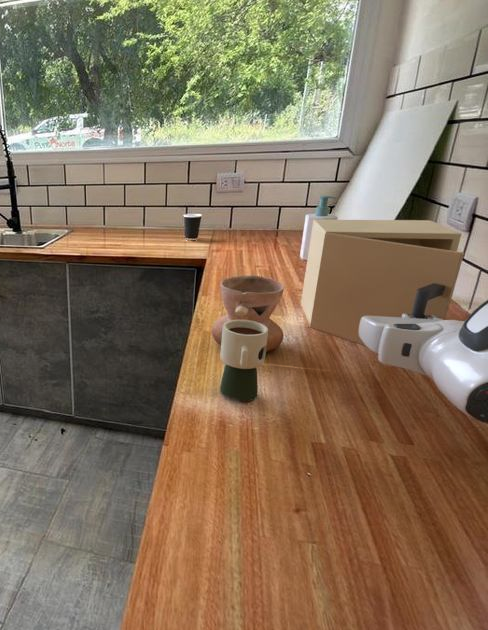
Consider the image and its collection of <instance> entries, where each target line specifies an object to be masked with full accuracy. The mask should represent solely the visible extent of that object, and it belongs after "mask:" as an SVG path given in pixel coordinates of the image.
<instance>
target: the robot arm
mask: <svg viewBox="0 0 488 630" xmlns="http://www.w3.org/2000/svg"><path fill="white" fill-rule="evenodd" d="M358 334H359V337H360V338H361V340H362V341H363V343H364V344H365V345H366V346H365V345H364V346H365V347H366V348H368V349H369V350H370V351H371V352H373V353H374V354H377V360H378V362H379V363H381V364H383V365H386V366H391V367H396V368H399V369H403V370H408V371H411V372H413V373H416V374H419V375H421V376H425V377H428V378H430V379H431V380H432V381H433V382H434V384H435V386H436V388H437V389H438V390H439V391H440V393H442V395H443V396H444V397H445V398H446V399H447V400H448V401H449V402H450V403H451V404H452V405H453V406H454V407H455V408H457V409H458V410H459V411H460V412H461V413H462V414H465V415H466V416H468V417H470V418H471V419H473V420H476V421H478V422H480V423H484V424H488V299H486V300H485V301H484V302H482V303H481V304H480V305H478V307H477V308H476V309H474V310H473V311H472V312H471V313H470V315H469V316H468V317H467V318H466V319H465V320H457V319H446V320H443V319H439V318H437V317H436V316H434V315H424V316H423V319H418V318H415V316H414V315H413V314H402V318H401V317H384V316H369V315H367V316H363V317H362V318H361V320H360V324H359V331H358Z"/></svg>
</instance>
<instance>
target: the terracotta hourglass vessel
mask: <svg viewBox="0 0 488 630" xmlns="http://www.w3.org/2000/svg"><path fill="white" fill-rule="evenodd" d="M284 290H285V286H284V284H283V283H281V282H280V281H278V280H276V279H273V278H271V277H264V276H261V275H253V274H252V275H244V274H243V275H233V276H229V277H225V278H223V279H222V280H221V281H220V294H221V298H222V299H221V300H222V302H223V305H224V307H225V311H226V313H227V314H225V315H223V316H221V317H219V318H218V319H216V320H215V321H214V322H213V324H212V326H211V328H210V332H211V335H212V338H213V339H214V341H215V342H216V343H217V344H218V345H220V346H221V341H222V330H223V325H224V323H226V322H228V321H232V320H249V321H254V322H258V323H261V324H263V325H265V326H266V327H267V328H268V337H267V345H266V353H268V352H271V351H273V350H275V349H277V348H278V347H279V346H280V345H281V344H282V343H283V340H284V332H283V329H282V328H281V326H280V325H279V324H278V323H276V321H274V320H272V319H271V318H270V317H271V316H272V314H273V313H274V312H275V310H276V308H277V306H278V305H279V302H280V301H281V299H282V296H283V294H284Z"/></svg>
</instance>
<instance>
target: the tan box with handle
mask: <svg viewBox="0 0 488 630" xmlns="http://www.w3.org/2000/svg"><path fill="white" fill-rule="evenodd" d="M464 256H465V252H463V251H458V250H457V251H450V250H443V249H436V248H429V247H422V246H415V245H409V244H402V243H395V242H388V241H381V240H374V239H367V238H360V237H354V236H347V235H340V234H333V233H325V238H324V244H323V250H322V256H321V262H320V268H319V275H318V281H317V287H316V293H315V299H314V305H313V311H312V318H311V324H310V323H309V328H310V329H311V328H312V329H314V330H317V331H320V332H323V333H327V334H329V335H332V336H335V337H338V338H341V339H344V340H347V341H349V342H353V343H356V344H358V345H362V346H365V347H367V346H366V345H365V344H364V343H363V341H362V340H361V338H360V337H359V334H358V331H359V324H360V320H361V318H362V317H363V316H367V315H369V316H384V317H401V318H402V314H413V315H414V316H415V318H418V319H423V316H424V315H434V316H436V317H437V318H439V319H443V320H447V316H448V313H449V310H450V306H451V301H452V298H453V295H454V291H455V287H456V284H457V280H458V277H459V274H460V269H461V266H462V262H463V260H464Z"/></svg>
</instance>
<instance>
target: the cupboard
mask: <svg viewBox="0 0 488 630" xmlns="http://www.w3.org/2000/svg"><path fill="white" fill-rule="evenodd" d="M325 233H333V234H340V235H347V236H354V237H360V238H367V239H374V240H381V241H388V242H395V243H402V244H409V245H415V246H422V247H429V248H436V249H443V250H450V251H457V252H458V249H459V245H460V243H461V239H462V238H461V237H462V233H461V232H458V231H457V230H454V229H451V228H450V227H447V226H445V225H442V224H439V223H438V222H435V221H433V220H430V219H426V220H425V219H423V220H422V219H419V220H418V219H337V220H313V226H312V233H311V240H310V246H309V253H308V259H307V261H306V267H305V273H304V280H303V286H302V293H301V298H300V299H301V300H300V305H301V307H302V309H303V313H304V314H305V317H306V319H307V321H308V324H309V325H310V324H311V318H312V311H313V305H314V299H315V293H316V287H317V281H318V275H319V268H320V262H321V256H322V250H323V244H324V238H325Z"/></svg>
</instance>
